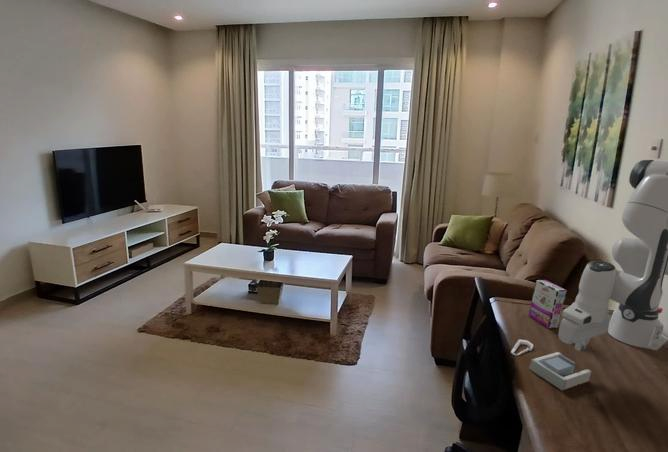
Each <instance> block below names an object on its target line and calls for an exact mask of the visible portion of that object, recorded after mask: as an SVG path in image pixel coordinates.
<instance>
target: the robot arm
mask: <svg viewBox="0 0 668 452" xmlns="http://www.w3.org/2000/svg"><path fill="white" fill-rule="evenodd" d="M628 181H629V182H628V183H629V185H630V186H631V188H634V190H633V192H632V193H631V195H630V197H629V199H628V200H627V203H626V205H625V207H624V209H623V212H622V215H621V220H622V221H621V222H622V224H623V226H624V227H625V229H626V230H627V231H628V232H629V233H630V234H632V235H633V236H635V238H634V237H632V238H631V237H621V238H619V239H618V240H616V241H615V242H614V244H613V246H612V247H611V256H612V259H613V260H614V261H615V262H616V264H618V265H619V266H620V268H621V269H622V270H619V269H616V266H615V265H614V264H613V263H611V262H608V261H605V260H591V261H590V262H588V263H587V264H586V265H585V268H584V269H583V272H582V273H581V277H580V281H579V284H578V293H577V295H576V297H575V300H574V302H572V303H571V305H569V306H568V307H566V308H565V309H564V310H562V313H561V316H562V317H563V318H562V320H561V321H560V326H559V329H558V339H559V340H560V341H561V342H563V343H564V344H567V345H572V344H575V345H574V349H575V350H576V351H582V350H585V349H586V347H587V345H588V344H589V342H590V341H591V339H592V338H594V337H598V336H601V335H604V334H606V333H607V332H608V334H609V335H610V336H611V337H613V338H614V339H615V340H618V341H620V342H622V343H624V344H627V345H630V346H632V347H633V346H634V347H638V348H643V349H649V350H653V351H658V350H659V349H661V348H662V347H663V346H664V345H665V344H666V343H667V342H668V337H666V336H665V334H663V330H664V325H663V323H662V322H661V321H660V320H659V315H660V314H661V313H662V312H663V307H659V306H660V303H661V300H662V297H663V294H664V293H663V292H664V291H663V289H662V287H663V281H664V277H665V276H668V161H660V160H659V161H658V160H654V159H643V160H642V159H641V160H640V161H639V162H637V163H635V164H634V165H633V168H632V169H631V170H630V174H629V179H628ZM609 300H611V301H613V302H615V303H617V304H618V309H615V310H614V311H613V313H612V314H611V315H610V314H609V312H610V309H609Z"/></svg>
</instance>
